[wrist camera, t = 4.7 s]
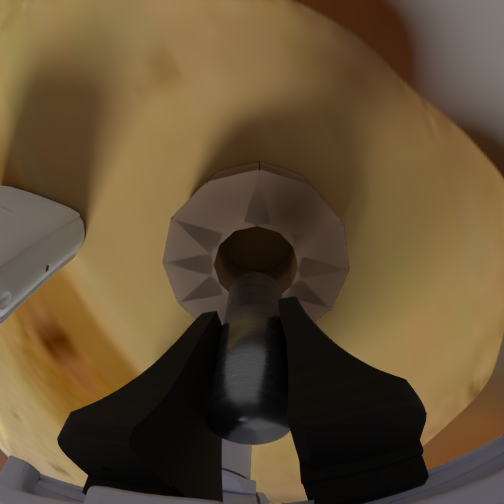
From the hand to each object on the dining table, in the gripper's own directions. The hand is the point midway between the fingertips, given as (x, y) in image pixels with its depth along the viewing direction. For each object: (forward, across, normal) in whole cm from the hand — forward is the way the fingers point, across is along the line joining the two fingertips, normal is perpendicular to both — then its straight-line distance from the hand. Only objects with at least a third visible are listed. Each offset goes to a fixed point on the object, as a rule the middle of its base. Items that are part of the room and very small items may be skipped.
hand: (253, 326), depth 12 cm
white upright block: (+10, +16, -6) cm, 20 cm away
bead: (+9, 0, 0) cm, 9 cm away
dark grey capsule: (+2, 0, 0) cm, 2 cm away
